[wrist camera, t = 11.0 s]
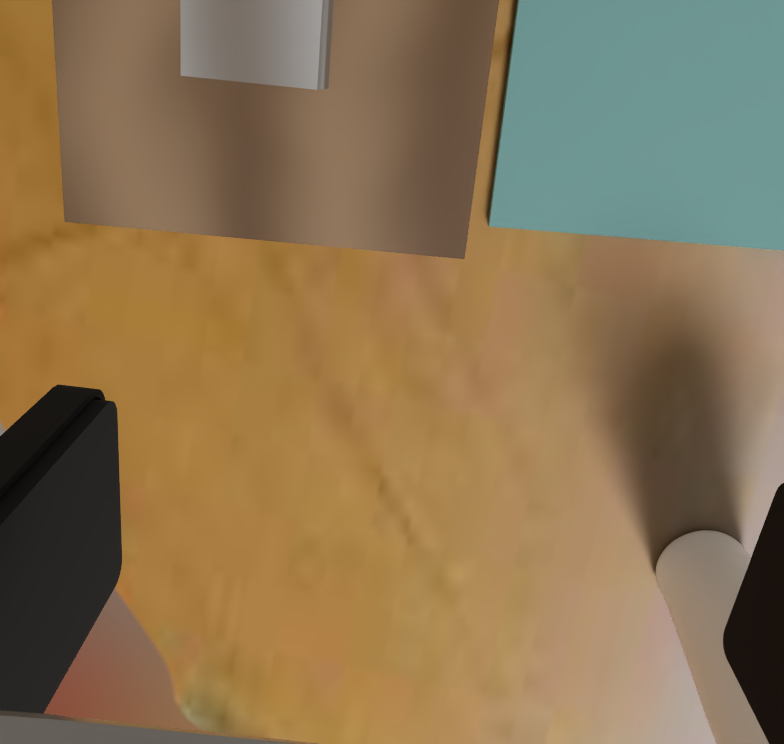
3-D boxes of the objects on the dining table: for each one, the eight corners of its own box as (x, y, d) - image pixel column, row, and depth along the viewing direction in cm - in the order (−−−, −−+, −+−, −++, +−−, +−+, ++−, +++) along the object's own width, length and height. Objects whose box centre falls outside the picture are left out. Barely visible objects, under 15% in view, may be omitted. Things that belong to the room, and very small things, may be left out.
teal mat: (928, -133, 31) (936, -137, 30) (810, 250, 37) (816, 252, 37) (539, -170, 30) (541, -174, 30) (488, 224, 37) (489, 226, 36)
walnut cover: (522, -205, 23) (568, -296, 17) (461, 254, 28) (482, 295, 22) (47, -266, 22) (-61, -380, 16) (73, 217, 27) (-4, 251, 21)
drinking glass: (732, 496, 43) (891, 710, 29) (771, 580, 45) (935, 815, 31) (622, 544, 44) (723, 770, 30) (665, 624, 46) (777, 867, 33)
